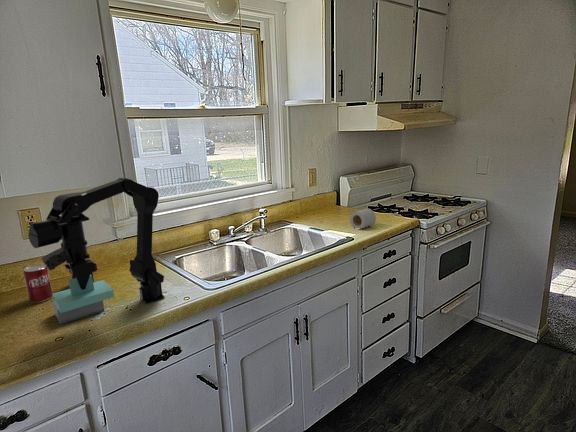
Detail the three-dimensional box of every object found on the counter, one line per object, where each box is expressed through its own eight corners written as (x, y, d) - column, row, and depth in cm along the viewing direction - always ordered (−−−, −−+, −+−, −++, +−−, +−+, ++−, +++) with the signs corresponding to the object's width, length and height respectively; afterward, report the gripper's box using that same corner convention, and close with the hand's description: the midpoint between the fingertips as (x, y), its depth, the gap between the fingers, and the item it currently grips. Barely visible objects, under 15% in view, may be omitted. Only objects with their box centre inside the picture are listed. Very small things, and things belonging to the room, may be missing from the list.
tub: (97, 301, 134) (95, 288, 133) (104, 310, 128) (102, 296, 127) (54, 314, 126) (52, 300, 125) (60, 324, 120) (57, 309, 119)
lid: (104, 286, 124) (101, 266, 122) (114, 297, 116) (110, 276, 114) (53, 300, 115) (49, 279, 113) (60, 313, 107) (55, 290, 106)
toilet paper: (364, 231, 207) (364, 213, 205) (349, 227, 214) (350, 210, 212) (375, 227, 214) (375, 209, 211) (361, 224, 221) (361, 207, 218)
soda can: (25, 300, 137) (18, 269, 135) (47, 293, 143) (41, 262, 140) (35, 305, 133) (28, 273, 131) (57, 297, 139) (50, 266, 136)
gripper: (36, 237, 113) (46, 286, 117) (46, 252, 99) (57, 307, 103) (78, 229, 120) (86, 276, 124) (93, 242, 106) (102, 294, 110)
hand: (82, 288), depth 115 cm, fingers closed on lid
